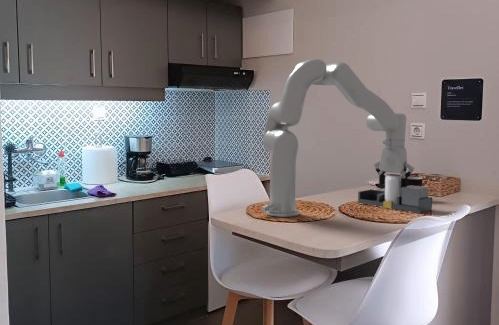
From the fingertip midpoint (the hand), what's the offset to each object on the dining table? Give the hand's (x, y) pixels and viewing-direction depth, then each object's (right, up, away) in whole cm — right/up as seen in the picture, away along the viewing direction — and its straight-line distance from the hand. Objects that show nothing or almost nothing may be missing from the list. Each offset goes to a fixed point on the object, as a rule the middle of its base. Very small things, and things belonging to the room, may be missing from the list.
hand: (392, 186), depth 202 cm
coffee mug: (+12, -7, +17) cm, 22 cm away
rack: (+1, -8, +1) cm, 9 cm away
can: (0, -7, +1) cm, 8 cm away
